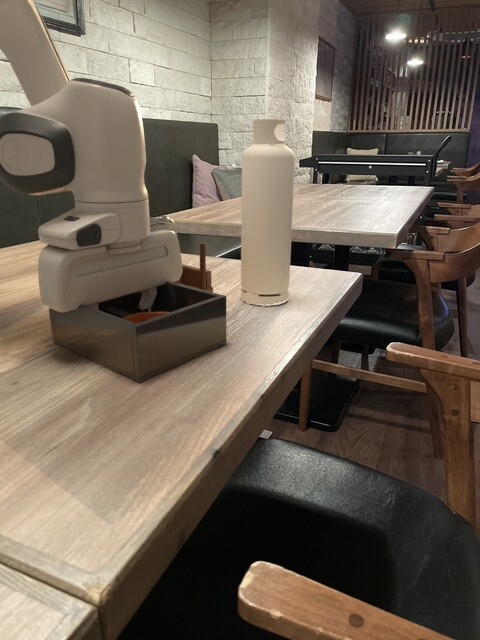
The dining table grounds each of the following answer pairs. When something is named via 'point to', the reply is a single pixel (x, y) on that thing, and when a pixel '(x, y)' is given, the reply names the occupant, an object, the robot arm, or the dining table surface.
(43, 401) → the dining table surface
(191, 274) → the rack
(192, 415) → the dining table surface
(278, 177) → the bottle
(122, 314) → the pan
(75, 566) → the dining table surface
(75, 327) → the dark open box
